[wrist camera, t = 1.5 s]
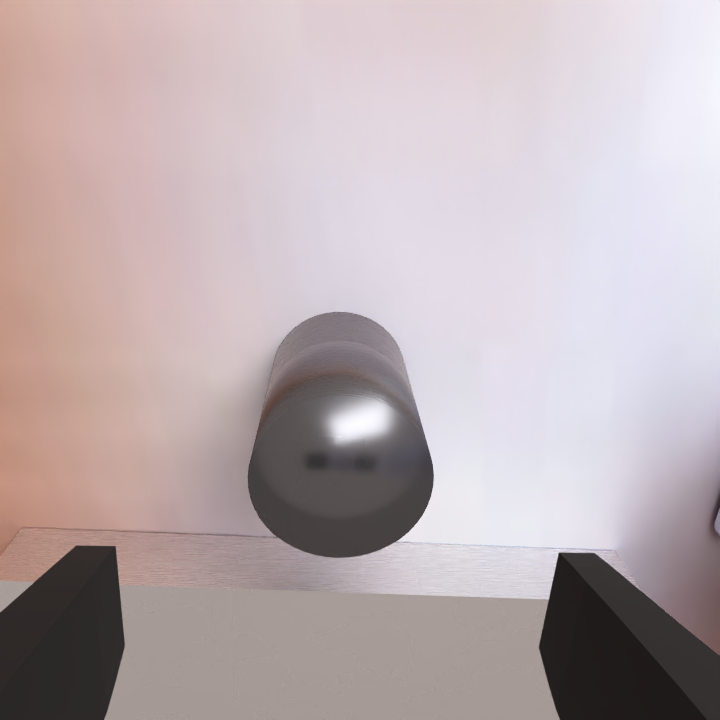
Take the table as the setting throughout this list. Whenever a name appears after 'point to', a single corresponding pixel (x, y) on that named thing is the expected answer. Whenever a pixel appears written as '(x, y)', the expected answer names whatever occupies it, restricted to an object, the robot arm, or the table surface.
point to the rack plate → (317, 627)
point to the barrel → (340, 441)
